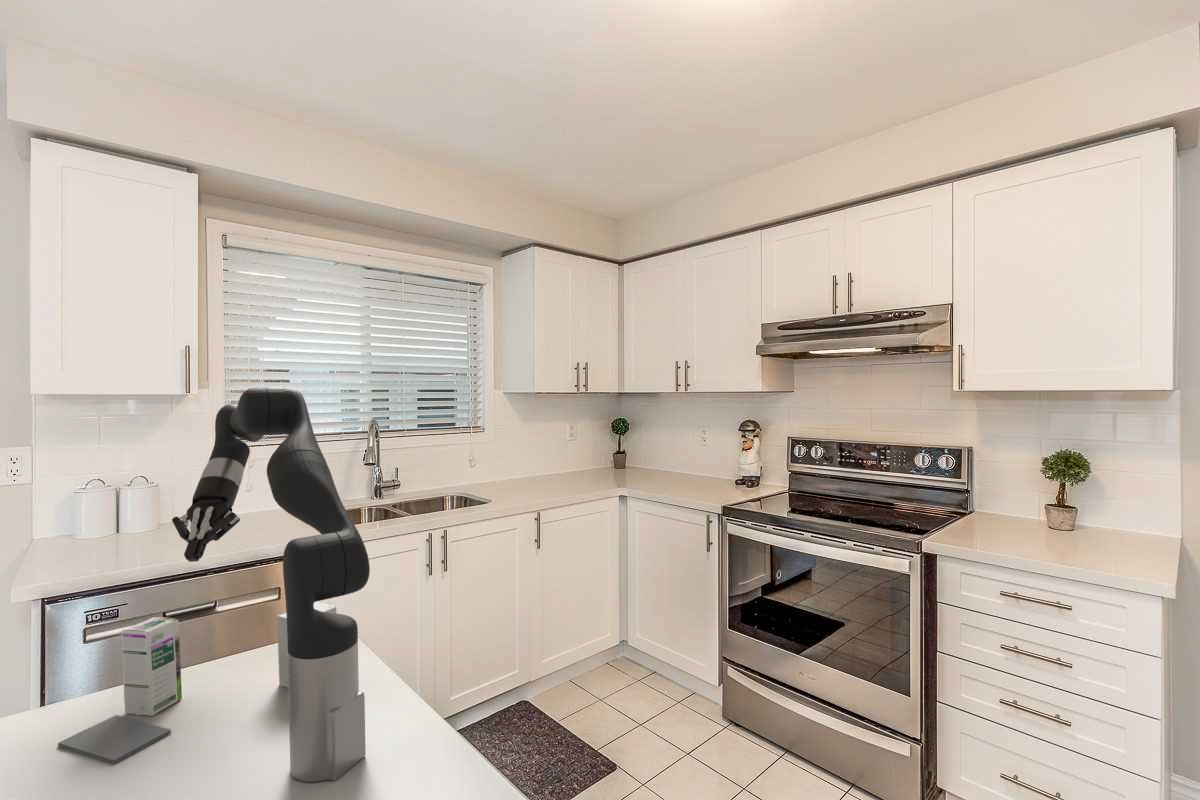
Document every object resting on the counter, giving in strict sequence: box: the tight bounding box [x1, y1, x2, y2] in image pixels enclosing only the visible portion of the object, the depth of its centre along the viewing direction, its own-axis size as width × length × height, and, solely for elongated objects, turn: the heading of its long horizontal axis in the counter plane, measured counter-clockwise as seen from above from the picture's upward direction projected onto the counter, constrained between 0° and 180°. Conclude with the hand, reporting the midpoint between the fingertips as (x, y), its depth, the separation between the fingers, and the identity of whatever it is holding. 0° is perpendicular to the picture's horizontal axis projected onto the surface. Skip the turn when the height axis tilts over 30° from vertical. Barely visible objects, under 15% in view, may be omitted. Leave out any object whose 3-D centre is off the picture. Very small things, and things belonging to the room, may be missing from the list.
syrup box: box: [120, 616, 183, 717], centre depth 100 cm, size 6×6×14 cm
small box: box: [276, 601, 337, 689], centre depth 109 cm, size 8×6×13 cm
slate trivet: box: [57, 714, 172, 765], centre depth 91 cm, size 13×8×1 cm, turn 70°
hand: (191, 559), depth 115 cm, fingers closed
